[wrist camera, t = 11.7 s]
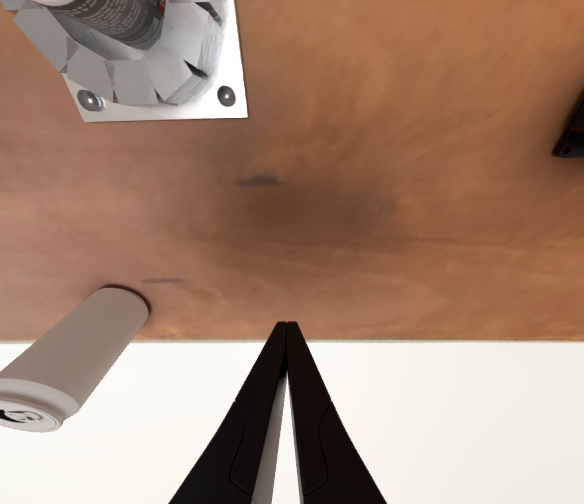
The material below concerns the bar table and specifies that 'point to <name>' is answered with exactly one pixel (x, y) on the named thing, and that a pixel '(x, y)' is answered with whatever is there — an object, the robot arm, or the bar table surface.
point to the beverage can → (69, 361)
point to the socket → (146, 63)
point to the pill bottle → (116, 18)
